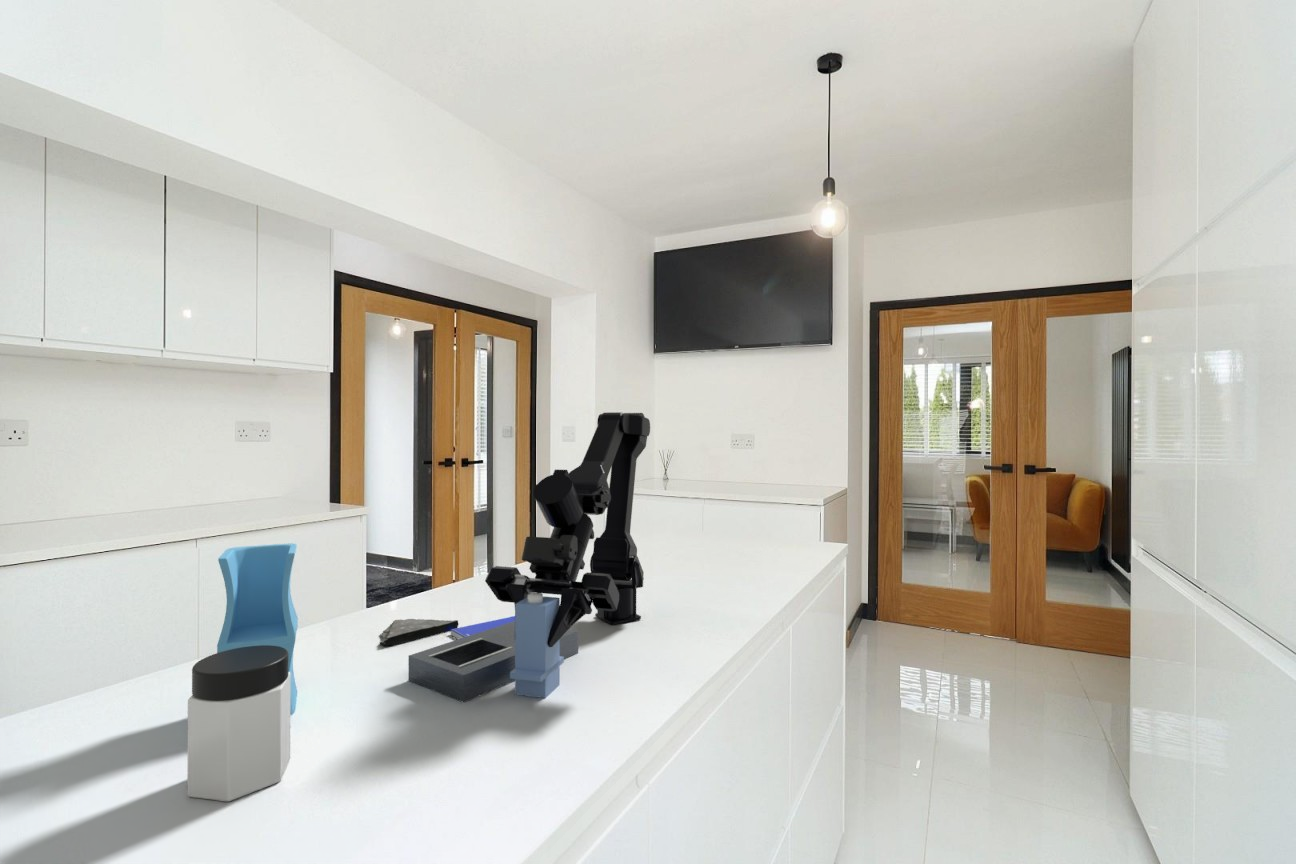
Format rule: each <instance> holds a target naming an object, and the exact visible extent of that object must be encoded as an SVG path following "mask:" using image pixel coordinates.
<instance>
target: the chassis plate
mask: <svg viewBox="0 0 1296 864" xmlns="http://www.w3.org/2000/svg"><path fill="white" fill-rule="evenodd" d="M578 653H579V630H576V629H573V628H569V629H568V630H567V632H566V633H565V634H564V635H563V636H562V637H561V638H560V656H562V657H564V660H565V659H567V658H569V657H572V656H575V655H577V654H578ZM514 669H515V621H513V622H510V623H507V624H504V625H501V626H497V627H494V628H491V629H488V630H485V631H482V632H479V633H476V634H473V635H470V636H467V637H464V638H461V639H455V640H453V641H449V642H446V643H443V644H439V645H437V646H434V647H431V648H428V649H425V650H422V651H419V652H415V653H413V654H410V655H408V682H411V683H413V684H416V685H419V686H421V687H424V688H425V689H429V690H431V691H434V692H436V693H439V694H441V695H444V696H446V697H449V698H451V699H453V700H457V701H459V702H461V703H465V702H467V701H470V700H472V699H475V698H478V697H479V696H481V695H484V694H486V693H489V692H491V691H493V690H495V689H497V688H500V687H503V686H505V685H507V684H510V683H512V682H515V679H510V672H511V671H513V670H514Z"/></svg>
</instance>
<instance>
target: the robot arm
mask: <svg viewBox="0 0 1296 864" xmlns="http://www.w3.org/2000/svg"><path fill="white" fill-rule="evenodd" d="M597 417H598V418H597V421H596V422H597V426H596V428H595V430H594V433H593V436H592V438H591V441H590V443H589V445H588V448H587V450H586V452H585V455H584V457H583V459H582V462H581V463H580V465H579V466H577V467H575V468H574V469H573V470H571V471H570V472H569V471H568V469H554V471H553V473H552V474H551V475H548V476H545V477H544V478H542V479H541V480H540V481H539V482H538V483H536V484H535V485H534V487H533V493H532V494H533V497H534V500H535V501H536V504H537V505H538V507H539V510H540V511H541V513H542V515H543V517H544V519H545V521H546V523H547V524H548V525H549V526H550V527H553V528H552V531H551V534H550V537H543V536H542V537H541V536H539V537H538V536H526V537H525V539H524V540H525V541H524V544H523V550H522V555H521V561H523V562H525V561H526V562H527V563H530V566H529V570H530V572H531V573H532V574H535V577H529V576H528V575H525V574H521V572H520V570H519V568H518V567H515V566H513V567H512V566H500V565H495V566H493V567H491V568H490V569H489V570H488V573H487V575H486V578H485V580H484V582H485V583H486V584H487V586H488V587H489V589H490V590H491V592H492V593H493V595H494V596H495V597H496V599H497V600H498V601H500V602H502V603H503V602H504V603H513V604H514V605H515V604H516V603H518V602H520V601H521V600H523V599H525V598H527V597H528V594H531V593H541V594H547V595H559V596H560V606H559V609H558V612H557V614H556V617H555V620H554V622H553V625H552V628H551V630H550V633H549V637H548V642H547V644H548V646H549V647H553V646H554V644H555V643H556V642H557V641H558V640H559V639H560V638H561V637H562V636H563V635H564V634H565V633H566V632H567V630H568V629H571V627H573V626H574V625H575V624H576V623H577V622H579V620H580V619H581V618H583V617H584V616H585V615H591V614H592V613H593V608H592V605H593V606H594V608H595V610H596V611H597V612H596V613H595V614H594V616H595V617H597V618H598V619H599V620H602V621H603V622H605V623H607V624H610V625H617V624H623V623H628V622H633V621H638V620H641V618H642V616H641V615H639V614H637V589H638V588H639V589H640V588H641V589H642V588H644V570H643V567H642V565H641V562H640V560H639V559H640V558H639V557H638V548H637V544H636V543H635V541H634V539H633V537H632V535H631V526H632V525H631V524H632V514H633V502H634V492H635V491H634V490H635V482H636V481H635V479H636V469H637V460H638V458H639V457H640V455H641V454H642V453H643V451H644V450H645V449H646V446H647V441H648V437H649V436H650V434H651V422H650V421H651V420H650V419H649V418H648V417H646V416H645V414H644V413H643V412H621V411H620V412H611V411H610V412H603V413H600V414H599V415H598V416H597ZM609 475H610V478H609ZM608 478H609V484H608ZM605 511H606V518H605V519H606V520H605V529H604V530H603V532H602V533H601V535H600V536H599V537H598V536H597V537H596V538H595V531H594V529H593V528H594V523H593V521H592V518H591V517H590V516H591V515H592V516H599V515H603V514H604V513H605ZM589 515H590V516H589ZM594 538H595V539H594ZM590 540H594V541H593V552H592V555H590V556H591V557H590V561H589V567H590V572H585V573H583V575H582V579H581V581H577V579H578V576H579V573H580V570H584V569H585V565H586V563H585V561H584V556H585V553H586V551H587V548H588V545H589V541H590Z"/></svg>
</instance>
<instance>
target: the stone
mask: <svg viewBox="0 0 1296 864" xmlns="http://www.w3.org/2000/svg"><path fill="white" fill-rule="evenodd" d="M455 628H459V620H457V619H455V620H444V619H443V620H439V619H424V618H422V619H421V618H419V619H415V618H407V619H395V620H393V621H392V623H391V624H389V626H388V627H387V628H386V629H384V630H383V631H382V632H381V633H380V634H379V635H378V636H379V637H380V638H381V639H382V640H381V641H380V642H379V646H399V645H404V644H407V643H411V642H414V641H419V640H421V639H425V638H426V639H427V638H428V637H429V638H430V637H433V636H437V635H440V634H443V633H448V632H451V629H455Z"/></svg>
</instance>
